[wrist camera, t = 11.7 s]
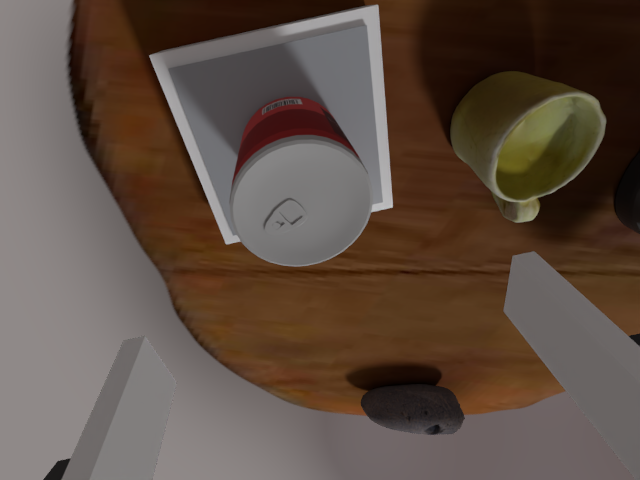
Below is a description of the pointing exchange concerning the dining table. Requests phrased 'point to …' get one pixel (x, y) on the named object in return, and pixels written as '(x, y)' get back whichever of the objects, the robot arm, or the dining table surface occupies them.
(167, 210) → the dining table surface
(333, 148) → the canned food
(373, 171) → the tray
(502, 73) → the mug
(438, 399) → the perforated stone tool
